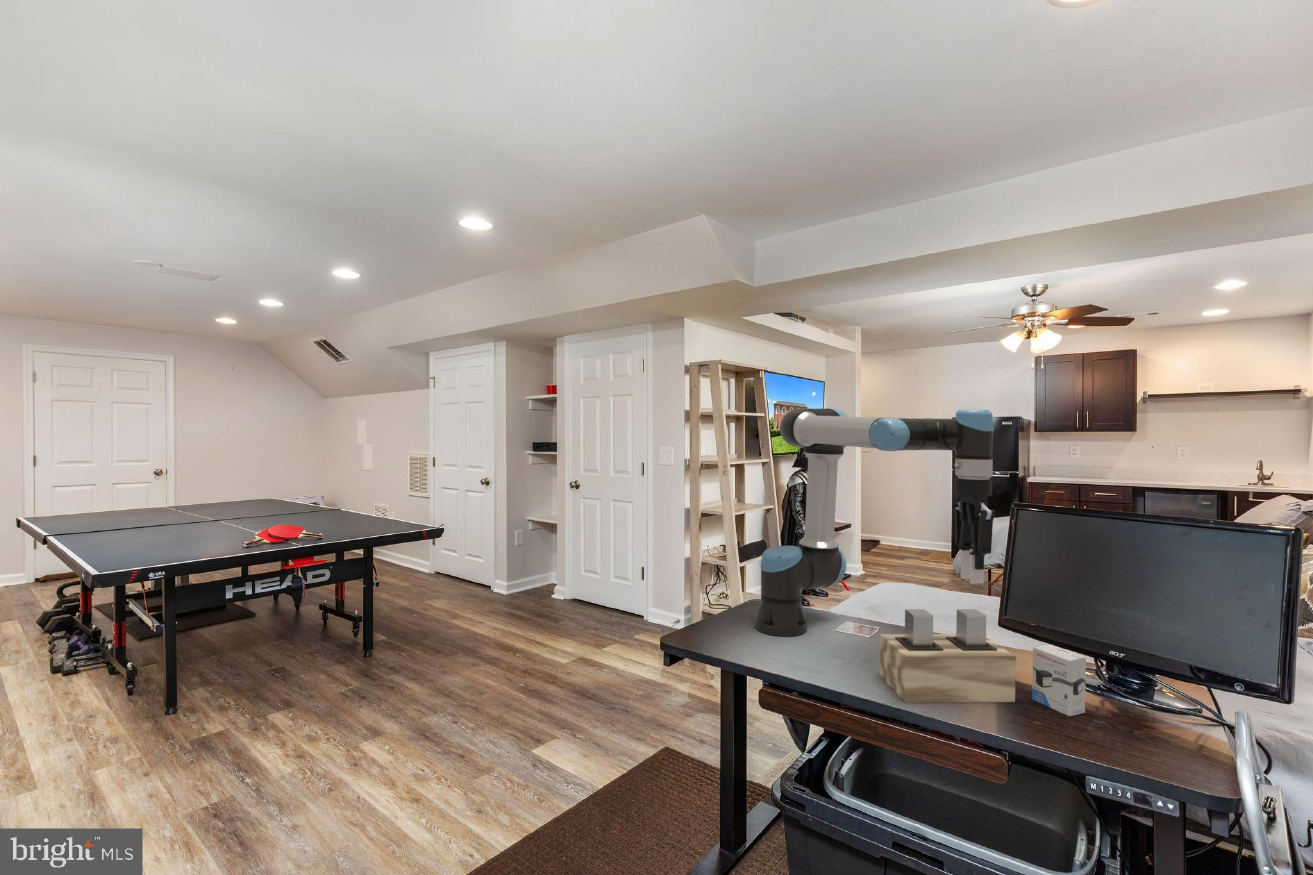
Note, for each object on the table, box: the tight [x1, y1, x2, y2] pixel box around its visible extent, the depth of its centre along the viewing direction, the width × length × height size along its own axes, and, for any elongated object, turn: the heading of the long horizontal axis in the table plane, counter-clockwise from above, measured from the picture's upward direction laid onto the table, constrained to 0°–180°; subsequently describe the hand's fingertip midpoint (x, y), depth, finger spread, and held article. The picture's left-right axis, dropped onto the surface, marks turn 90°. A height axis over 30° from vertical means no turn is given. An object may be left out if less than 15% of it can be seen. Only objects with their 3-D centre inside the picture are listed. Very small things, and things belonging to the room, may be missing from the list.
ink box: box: [1031, 644, 1087, 717], centre depth 129 cm, size 8×5×12 cm, turn 21°
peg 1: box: [904, 608, 934, 647], centre depth 137 cm, size 4×4×9 cm
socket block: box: [879, 633, 1017, 704], centre depth 137 cm, size 14×24×10 cm, turn 91°
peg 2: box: [955, 608, 987, 647], centre depth 137 cm, size 4×4×9 cm
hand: (971, 580), depth 137 cm, fingers open, 3 cm apart
